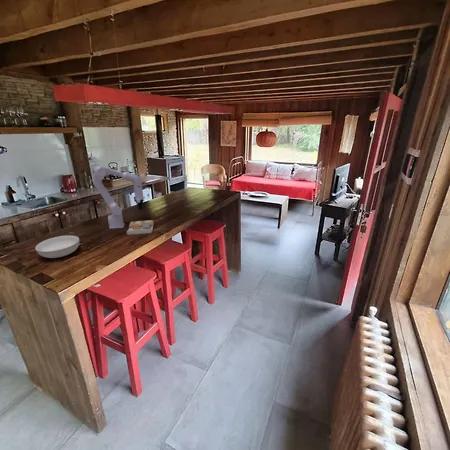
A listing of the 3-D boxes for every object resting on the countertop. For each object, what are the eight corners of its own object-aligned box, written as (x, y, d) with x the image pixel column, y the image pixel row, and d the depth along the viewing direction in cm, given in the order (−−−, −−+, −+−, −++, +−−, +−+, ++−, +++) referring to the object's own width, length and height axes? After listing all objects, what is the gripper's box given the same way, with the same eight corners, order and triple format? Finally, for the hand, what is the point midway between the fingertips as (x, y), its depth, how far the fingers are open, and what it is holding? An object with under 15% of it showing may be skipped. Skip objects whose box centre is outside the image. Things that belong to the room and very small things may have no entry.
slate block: (143, 229, 176) (142, 227, 174) (143, 224, 179) (142, 222, 177) (149, 229, 177) (149, 227, 175) (150, 224, 179) (149, 222, 178)
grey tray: (127, 234, 169) (126, 230, 168) (129, 230, 177) (128, 226, 176) (152, 233, 172) (151, 228, 171) (152, 228, 180) (152, 224, 179)
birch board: (129, 229, 177) (129, 226, 177) (131, 224, 187) (131, 221, 186) (153, 228, 180) (152, 224, 179) (153, 223, 190) (153, 220, 189)
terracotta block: (133, 229, 176) (132, 231, 174) (132, 223, 175) (131, 224, 172) (140, 229, 177) (139, 230, 175) (139, 223, 176) (138, 224, 173)
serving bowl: (35, 253, 144) (31, 242, 142) (75, 242, 158) (73, 232, 155) (43, 266, 130) (39, 254, 128) (86, 253, 144) (84, 242, 141)
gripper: (143, 193, 180) (145, 211, 185) (145, 189, 194) (147, 206, 198) (132, 194, 179) (135, 212, 184) (135, 189, 192) (137, 206, 197)
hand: (140, 209), depth 191 cm, fingers closed
